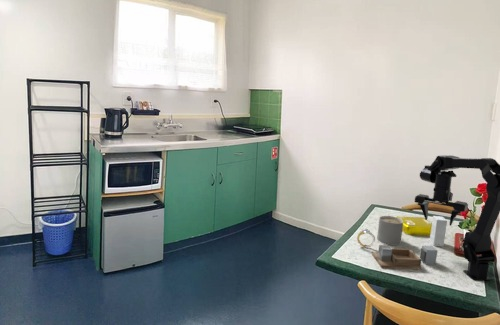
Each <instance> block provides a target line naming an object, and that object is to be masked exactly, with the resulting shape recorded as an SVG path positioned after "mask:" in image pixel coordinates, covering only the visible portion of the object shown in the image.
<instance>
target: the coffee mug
mask: <svg viewBox="0 0 500 325" xmlns="http://www.w3.org/2000/svg"><path fill="white" fill-rule="evenodd" d="M397 217H398V216H392V215H381V216H380V217H379V219H378V228H377V237H376V239H377V241H378V242H379V243H381V244H383V245H389V246H399V245H400V244H401V243H402V235H403V231H402V228H403V220H402V219H400V218H397Z"/></svg>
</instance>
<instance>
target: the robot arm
mask: <svg viewBox="0 0 500 325" xmlns="http://www.w3.org/2000/svg"><path fill="white" fill-rule="evenodd" d="M457 169H475V170H476V169H477V170H479V171H480V172H481V176H482V178H483V180H484V181H485V183H486V186H485V190H486V193H487V196H486V199H485V202H484V205H483V207H482V210H481V212H480V215H479V217H478V220H477V223H476V225H475V228H474V230H473V231H466V232H465V234H464V237H463V239H462V240H461V242H462V250H463V257H464V259H465V260H467V262H468V264H467V269H463V271H462V272H463V273H465V275H467V276H468V277H469V278H470V279H471V280H474V281H491V280H492V279H491V278H490V277H489V276H488V274H489V273H488V272H489V267H490V263H495V262H496V260H497V256H496V254H495V253H494V251H493V249H492V248H491V247H492V243H493V240H492V238H491V234H492V231H493V229H494V227H495V224H496V222H497V220H498V217H499V214H500V164H499V162H498V161H497V160H496V159H494V158H491V157H485V158H482V157H481V158H464V157H463V158H462V157H459V156H455V155H437V156H435V159H434V160H433V162H432V163H431V164H430V165H427V164H426V165H424V168H422V169H421V170H420V172H419V178H420V179H421V180H422V181H424V182H428V183H431V184H434V187H433V196H432V197H429V195H427V194H422V193H420V194H417V195H416V196H415V197H414V203H416V204H417V205H418V206H419V207H420V209H421V210H422V214H423V218H425V220H428V217H429V205H430V204H436V205H440V206H446V207H451V208H452V210H451V213H450V219H449V226H450V227H451V226H452V225H453V223H454V221H455V219H456V218H457V216H458V214H461V213H465V212H466V211H468V208H469V204H468V202H465V201H461V200H457V201H454V202H452V200H453V198H454V197H453V195H454V193H452V192H451V191H452V190H451V187H452V178H456V177H457V174H456V173H455V172H454V170H457Z"/></svg>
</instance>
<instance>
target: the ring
mask: <svg viewBox="0 0 500 325" xmlns="http://www.w3.org/2000/svg"><path fill="white" fill-rule="evenodd" d="M365 234H369V235H370V236H371V237H372V242H371V244H363V243H362V242H361V240H360V236H363V235H365ZM356 239H357V242H358V244H359V245H360V246H362V248H365V247H366V248H370V247H372V246H373V245H374V243H375V241H376V239H375V235H374V234H373V233H372V232H371V230H369V229H368V228H365V229H361V231H360V232H359V233H358V234H357V237H356Z"/></svg>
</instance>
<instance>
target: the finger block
mask: <svg viewBox="0 0 500 325" xmlns="http://www.w3.org/2000/svg"><path fill="white" fill-rule="evenodd" d="M419 254H420V255H419V258H420V259H421V263H422V264H424V265H430V266H433V265H435V266H436V263H437V256H438V250H437V249H436V248H435V247H434V245H421V248H420V253H419Z"/></svg>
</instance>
